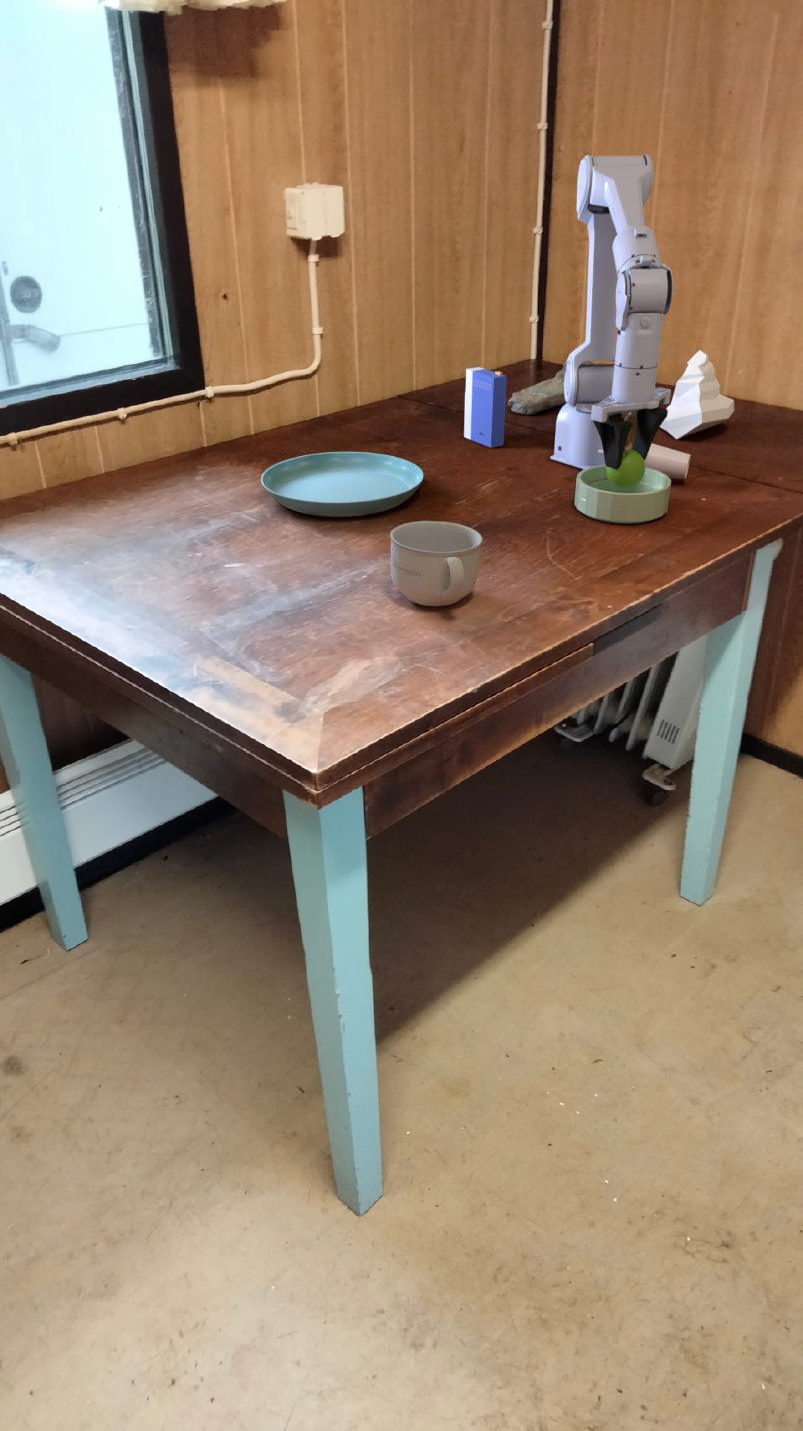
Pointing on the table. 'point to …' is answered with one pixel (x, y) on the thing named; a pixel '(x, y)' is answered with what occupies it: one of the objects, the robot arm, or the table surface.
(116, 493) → the table surface
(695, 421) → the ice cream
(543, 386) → the elongated rock
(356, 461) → the teal plate
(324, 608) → the table surface
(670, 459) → the smoothie
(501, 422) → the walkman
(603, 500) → the bowl
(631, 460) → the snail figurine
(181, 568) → the table surface
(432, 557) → the teacup
